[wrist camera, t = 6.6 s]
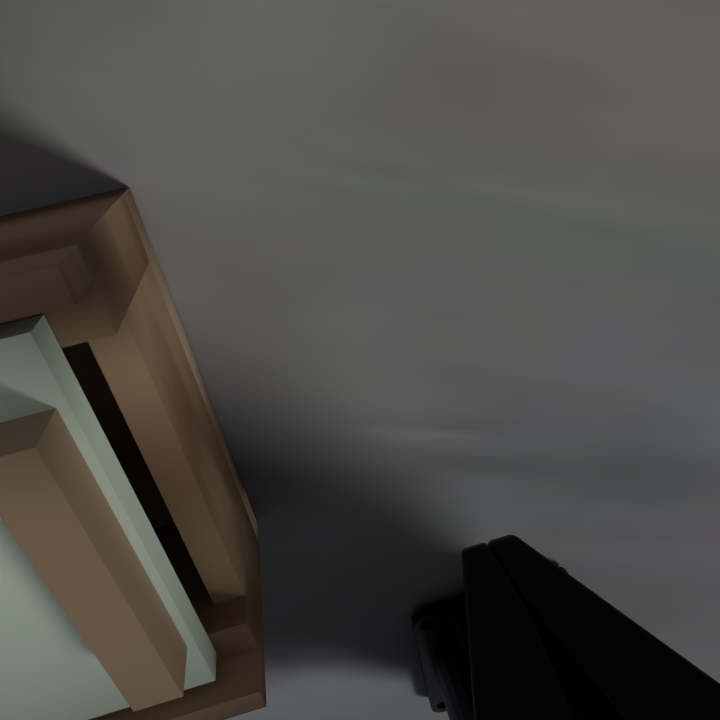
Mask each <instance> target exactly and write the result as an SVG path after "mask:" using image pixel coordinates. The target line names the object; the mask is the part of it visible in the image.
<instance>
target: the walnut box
mask: <svg viewBox="0 0 720 720" xmlns="http://www.w3.org/2000/svg"><path fill="white" fill-rule="evenodd" d="M40 315H44V316H45V318H46V320H47V322H48V324H49V326H50V328H51V330H52V332H53V334H54V336H55V337H56V339H57V341H58V343H59V345H60V347H61V349H62V351H63V353H64V355H65V357H66V359H67V361H68V363H69V365H70V367H71V369H72V371H73V373H74V375H75V377H76V379H77V381H78V383H79V385H80V386H81V388H82V390H83V392H84V394H85V396H86V398H87V400H88V402H89V404H90V406H91V408H92V410H93V412H94V414H95V416H96V418H97V420H98V422H99V424H100V426H101V428H102V430H103V432H104V434H105V435H106V437H107V439H108V441H109V443H110V445H111V447H112V449H113V451H114V453H115V455H116V457H117V459H118V461H119V463H120V465H121V467H122V469H123V471H124V473H125V475H126V477H127V479H128V481H129V483H130V485H131V486H132V488H133V490H134V492H135V494H136V496H137V498H138V500H139V502H140V504H141V506H142V508H143V510H144V512H145V514H146V516H147V518H148V520H149V522H150V524H151V526H152V528H153V530H154V532H155V534H156V535H157V537H158V539H159V541H160V543H161V545H162V547H163V549H164V551H165V553H166V555H167V557H168V559H169V561H170V563H171V565H172V567H173V569H174V571H175V573H176V575H177V577H178V579H179V581H180V583H181V584H182V586H183V588H184V590H185V592H186V594H187V596H188V598H189V600H190V602H191V604H192V606H193V608H194V610H195V612H196V614H197V616H198V618H199V620H200V622H201V624H202V626H203V628H204V630H205V632H206V633H207V635H208V637H209V639H210V641H211V643H212V645H213V647H214V649H215V651H216V681H212V682H209V683H206V684H203V685H199V686H196V687H193V688H190V689H186V690H184V694H183V697H180V698H177V699H173V700H170V701H167V702H164V703H160V704H157V705H154V706H151V707H147V708H144V709H141V710H138V711H133V710H132V709H131V707H128V708H125V709H121V710H118V711H115V712H111V713H108V714H105V715H102V716H98V717H95V718H92V719H89V720H225V719H228V718H231V717H234V716H237V715H240V714H244V713H247V712H250V711H253V710H256V709H260V708H263V707H266V689H265V669H264V648H263V628H262V608H261V587H260V567H259V546H258V526H257V521H256V518H255V516H254V513H253V510H252V508H251V505H250V503H249V500H248V497H247V495H246V492H245V489H244V487H243V484H242V482H241V479H240V476H239V474H238V471H237V468H236V466H235V463H234V461H233V458H232V455H231V453H230V450H229V447H228V445H227V442H226V440H225V437H224V434H223V432H222V429H221V426H220V424H219V421H218V419H217V416H216V413H215V411H214V408H213V406H212V403H211V400H210V398H209V395H208V392H207V390H206V387H205V385H204V382H203V379H202V377H201V374H200V371H199V369H198V366H197V364H196V361H195V358H194V356H193V353H192V350H191V348H190V345H189V343H188V340H187V337H186V335H185V332H184V329H183V327H182V324H181V322H180V319H179V316H178V314H177V311H176V308H175V306H174V303H173V301H172V298H171V295H170V293H169V290H168V288H167V285H166V282H165V280H164V277H163V274H162V272H161V269H160V267H159V264H158V261H157V259H156V256H155V253H154V251H153V248H152V246H151V243H150V240H149V238H148V235H147V232H146V230H145V227H144V225H143V222H142V219H141V217H140V214H139V211H138V209H137V206H136V204H135V201H134V198H133V196H132V193H131V190H130V188H129V187H128V188H123V189H119V190H115V191H110V192H106V193H102V194H97V195H93V196H88V197H84V198H80V199H75V200H71V201H67V202H62V203H58V204H54V205H49V206H45V207H41V208H36V209H32V210H27V211H23V212H19V213H14V214H10V215H6V216H1V217H0V325H4V324H8V323H12V322H16V321H20V320H24V319H28V318H32V317H36V316H40Z"/></svg>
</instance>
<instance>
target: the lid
mask: <svg viewBox="0 0 720 720" xmlns="http://www.w3.org/2000/svg"><path fill="white" fill-rule="evenodd" d="M212 681H216V651H215V649H214V647H213V645H212V643H211V641H210V639H209V637H208V635H207V633H206V632H205V630H204V628H203V626H202V624H201V622H200V620H199V618H198V616H197V614H196V612H195V610H194V608H193V606H192V604H191V602H190V600H189V598H188V596H187V594H186V592H185V590H184V588H183V586H182V584H181V583H180V581H179V579H178V577H177V575H176V573H175V571H174V569H173V567H172V565H171V563H170V561H169V559H168V557H167V555H166V553H165V551H164V549H163V547H162V545H161V543H160V541H159V539H158V537H157V535H156V534H155V532H154V530H153V528H152V526H151V524H150V522H149V520H148V518H147V516H146V514H145V512H144V510H143V508H142V506H141V504H140V502H139V500H138V498H137V496H136V494H135V492H134V490H133V488H132V486H131V485H130V483H129V481H128V479H127V477H126V475H125V473H124V471H123V469H122V467H121V465H120V463H119V461H118V459H117V457H116V455H115V453H114V451H113V449H112V447H111V445H110V443H109V441H108V439H107V437H106V435H105V434H104V432H103V430H102V428H101V426H100V424H99V422H98V420H97V418H96V416H95V414H94V412H93V410H92V408H91V406H90V404H89V402H88V400H87V398H86V396H85V394H84V392H83V390H82V388H81V386H80V385H79V383H78V381H77V379H76V377H75V375H74V373H73V371H72V369H71V367H70V365H69V363H68V361H67V359H66V357H65V355H64V353H63V351H62V349H61V347H60V345H59V343H58V341H57V339H56V337H55V336H54V334H53V332H52V330H51V328H50V326H49V324H48V322H47V320H46V318H45V316H44V315H40V316H36V317H32V318H28V319H24V320H20V321H16V322H12V323H8V324H4V325H0V720H89V719H92V718H95V717H98V716H102V715H105V714H108V713H111V712H115V711H118V710H121V709H125V708H128V707H131V709H132V710H133V711H138V710H141V709H144V708H147V707H151V706H154V705H157V704H160V703H164V702H167V701H170V700H173V699H177V698H180V697H183V694H184V690H186V689H190V688H193V687H196V686H199V685H203V684H206V683H209V682H212Z"/></svg>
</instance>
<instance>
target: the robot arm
mask: <svg viewBox="0 0 720 720" xmlns="http://www.w3.org/2000/svg"><path fill="white" fill-rule="evenodd" d="M462 566H463V579H464V592H465V595H463V596H460V597H457V598H454V599H450V600H447V601H444V602H441V603H437V604H434V605H431V606H427V607H424V608H421V609H419V610H417V611H416V612H415V613H414V614H413V615H412V617H411V621H412V626H413V630H414V635H415V639H416V644H417V648H418V653H419V657H420V662H421V666H422V671H423V675H424V680H425V684H426V689H427V693H428V698H429V701H430V705H431V708H432V710H433V711H434V712H444V711H447V713H448V716H449V719H450V720H720V683H718V682H717V681H715V680H714V679H713V678H711V677H710V676H709V675H707V674H706V673H704V672H703V671H702V670H700V669H699V668H698V667H696V666H695V665H693V664H692V663H691V662H689V661H688V660H686V659H685V658H684V657H682V656H681V655H680V654H678V653H677V652H675V651H674V650H673V649H671V648H670V647H669V646H667V645H666V644H664V643H663V642H662V641H660V640H659V639H657V638H656V637H655V636H653V635H652V634H651V633H649V632H648V631H646V630H645V629H644V628H642V627H641V626H640V625H638V624H637V623H635V622H634V621H633V620H631V619H630V618H628V617H627V616H626V615H624V614H623V613H622V612H620V611H619V610H617V609H616V608H615V607H613V606H612V605H611V604H609V603H608V602H606V601H605V600H604V599H602V598H601V597H599V596H598V595H597V594H595V593H594V592H593V591H591V590H590V589H588V588H587V587H586V586H584V585H583V584H582V583H580V582H579V581H577V580H576V579H575V578H573V577H572V576H570V575H569V574H568V572H567V571H566V569H564V568H563V567H558V566H557V565H555V564H554V563H553V562H551V561H550V560H548V559H547V558H546V557H544V556H543V555H541V554H540V553H539V552H537V551H536V550H535V549H533V548H532V547H530V546H529V545H528V544H526V543H525V542H524V541H522V540H521V539H519V538H518V537H516V536H514V535H507V536H504V537H500V538H497V539H494V540H491V541H490V542H489V543H488V545H487V544H486V543H481V544H477V545H474V546H471V547H467V548H464V549H463V550H462Z"/></svg>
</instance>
